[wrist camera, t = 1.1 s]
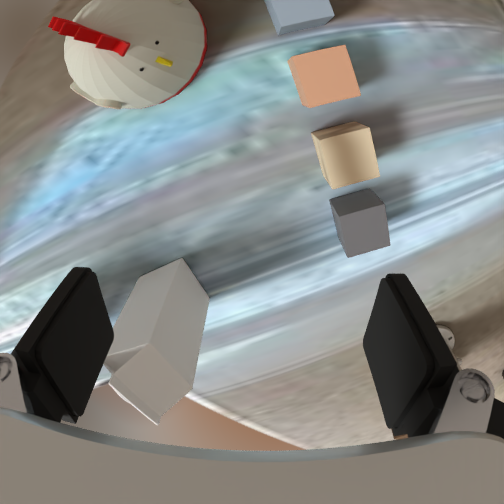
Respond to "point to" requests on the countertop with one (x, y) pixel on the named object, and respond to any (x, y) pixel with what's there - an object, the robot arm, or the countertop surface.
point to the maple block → (346, 154)
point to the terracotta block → (324, 76)
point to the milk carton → (158, 339)
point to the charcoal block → (360, 222)
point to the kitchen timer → (133, 50)
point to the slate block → (298, 14)
